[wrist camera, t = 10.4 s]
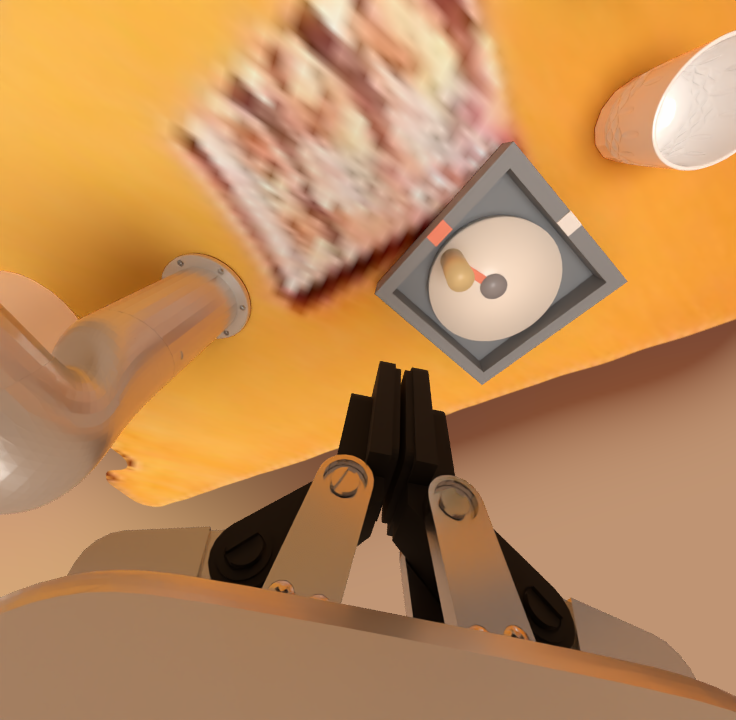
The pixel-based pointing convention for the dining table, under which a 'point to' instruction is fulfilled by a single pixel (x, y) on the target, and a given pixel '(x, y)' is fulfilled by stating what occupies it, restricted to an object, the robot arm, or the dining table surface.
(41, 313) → the cylinder
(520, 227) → the dial
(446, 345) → the dial housing
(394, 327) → the dining table surface
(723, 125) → the white cup
